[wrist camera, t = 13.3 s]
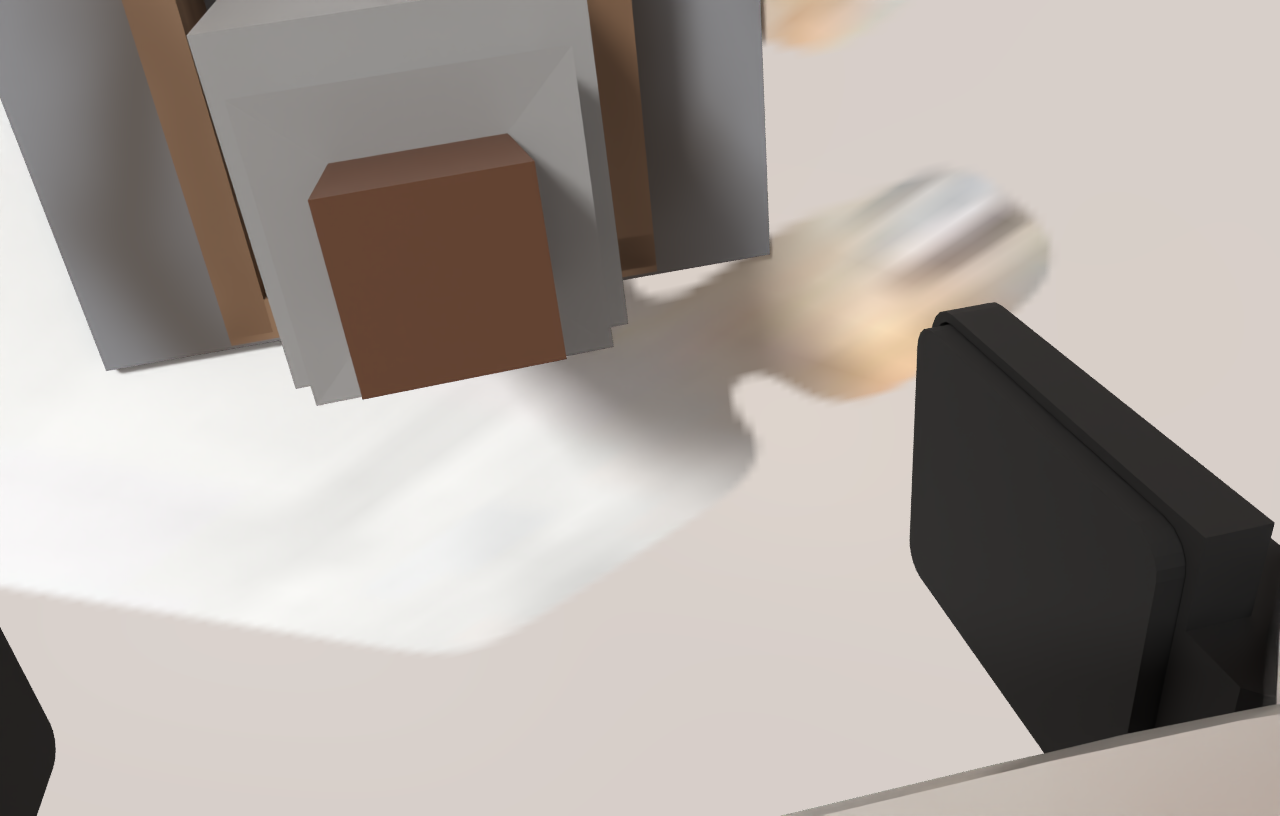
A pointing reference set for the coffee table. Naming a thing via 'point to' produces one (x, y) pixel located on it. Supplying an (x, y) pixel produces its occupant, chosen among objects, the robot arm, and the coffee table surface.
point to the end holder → (207, 204)
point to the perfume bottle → (417, 183)
